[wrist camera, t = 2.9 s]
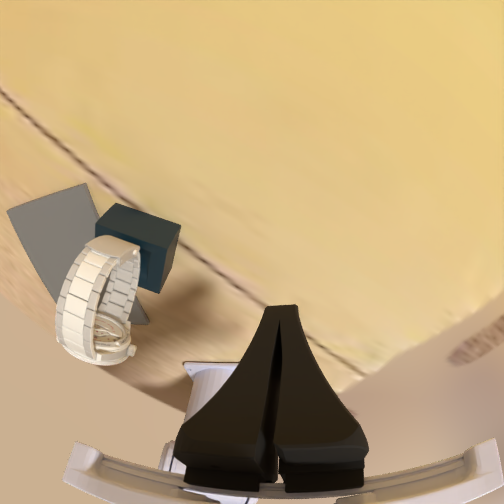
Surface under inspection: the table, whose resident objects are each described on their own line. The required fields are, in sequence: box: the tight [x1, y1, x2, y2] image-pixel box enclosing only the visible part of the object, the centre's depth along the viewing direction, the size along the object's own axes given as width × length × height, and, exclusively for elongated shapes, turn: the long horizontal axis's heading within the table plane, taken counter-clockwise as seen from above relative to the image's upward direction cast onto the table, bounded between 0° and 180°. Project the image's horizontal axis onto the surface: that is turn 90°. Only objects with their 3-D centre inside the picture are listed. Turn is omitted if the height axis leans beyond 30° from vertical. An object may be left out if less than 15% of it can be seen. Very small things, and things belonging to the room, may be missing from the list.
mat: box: [6, 183, 149, 325], centre depth 25 cm, size 15×12×1 cm
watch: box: [55, 203, 181, 366], centre depth 18 cm, size 6×8×11 cm
